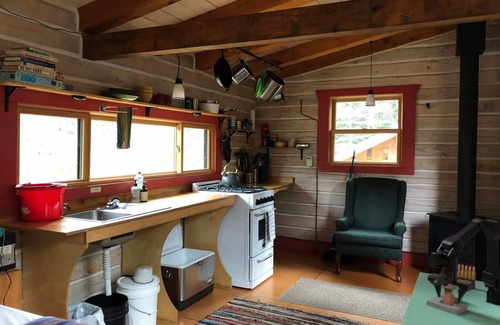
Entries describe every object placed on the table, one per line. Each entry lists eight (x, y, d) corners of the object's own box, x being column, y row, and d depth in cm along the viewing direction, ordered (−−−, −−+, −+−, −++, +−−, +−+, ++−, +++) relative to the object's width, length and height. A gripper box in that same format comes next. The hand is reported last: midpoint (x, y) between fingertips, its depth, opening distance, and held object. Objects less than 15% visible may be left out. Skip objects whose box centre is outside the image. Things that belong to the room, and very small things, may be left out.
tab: (453, 307, 190) (454, 294, 189) (449, 308, 187) (450, 295, 187) (447, 305, 192) (448, 292, 192) (443, 306, 190) (443, 293, 189)
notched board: (467, 310, 186) (467, 305, 186) (456, 314, 180) (457, 310, 180) (437, 300, 197) (437, 296, 197) (426, 304, 191) (426, 300, 191)
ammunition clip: (452, 285, 222) (453, 263, 222) (453, 284, 224) (454, 262, 224) (474, 289, 216) (475, 267, 215) (475, 288, 217) (476, 266, 217)
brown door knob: (461, 300, 199) (462, 287, 198) (452, 304, 193) (453, 290, 193) (443, 295, 206) (444, 282, 205) (434, 298, 200) (434, 285, 200)
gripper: (421, 264, 192) (420, 297, 192) (462, 274, 177) (460, 310, 177) (434, 261, 198) (432, 293, 199) (474, 270, 184) (472, 305, 184)
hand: (448, 300), depth 190 cm, fingers open, 9 cm apart
